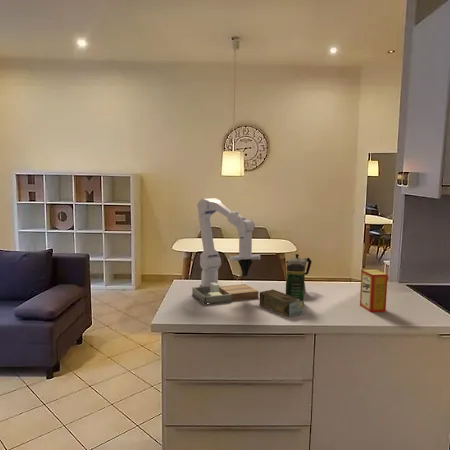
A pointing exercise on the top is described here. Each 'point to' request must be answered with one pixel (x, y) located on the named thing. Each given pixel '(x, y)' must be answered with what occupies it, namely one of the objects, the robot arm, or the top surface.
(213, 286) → the tile
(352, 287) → the top surface
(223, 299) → the tray
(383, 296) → the baking soda box
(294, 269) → the coffee jar
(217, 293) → the tile
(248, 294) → the walnut board
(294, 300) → the beverage carton
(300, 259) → the coffeepot
